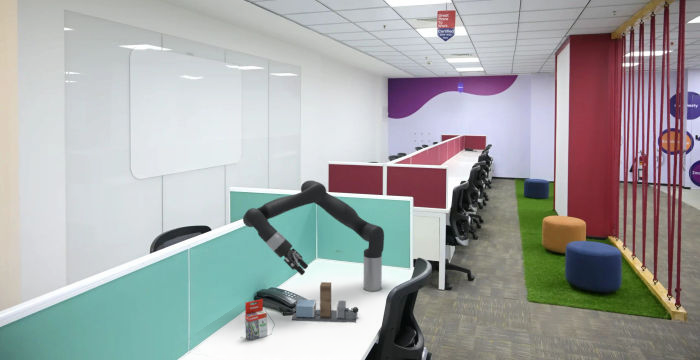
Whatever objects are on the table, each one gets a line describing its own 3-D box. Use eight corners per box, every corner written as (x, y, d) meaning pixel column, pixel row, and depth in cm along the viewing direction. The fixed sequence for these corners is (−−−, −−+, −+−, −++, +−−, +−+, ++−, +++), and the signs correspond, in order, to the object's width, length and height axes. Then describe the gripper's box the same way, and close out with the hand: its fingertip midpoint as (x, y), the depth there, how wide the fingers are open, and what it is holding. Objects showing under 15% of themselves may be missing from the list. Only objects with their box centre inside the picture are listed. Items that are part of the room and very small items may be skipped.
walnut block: (321, 312, 223) (321, 282, 221) (331, 312, 223) (331, 282, 221) (320, 316, 219) (320, 285, 217) (330, 316, 218) (330, 285, 217)
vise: (295, 311, 227) (295, 298, 226) (359, 313, 225) (359, 300, 224) (291, 320, 217) (291, 307, 216) (357, 322, 215) (357, 308, 214)
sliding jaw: (299, 309, 226) (299, 299, 225) (316, 310, 225) (316, 300, 225) (296, 316, 218) (296, 306, 217) (313, 317, 217) (313, 306, 217)
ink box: (267, 336, 202) (266, 301, 200) (249, 340, 197) (248, 305, 195) (263, 332, 205) (263, 298, 203) (245, 337, 200) (244, 302, 198)
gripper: (281, 242, 211) (308, 269, 211) (288, 234, 225) (313, 260, 225) (269, 254, 212) (296, 281, 212) (276, 246, 226) (301, 271, 226)
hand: (305, 270), depth 219 cm, fingers open, 8 cm apart
